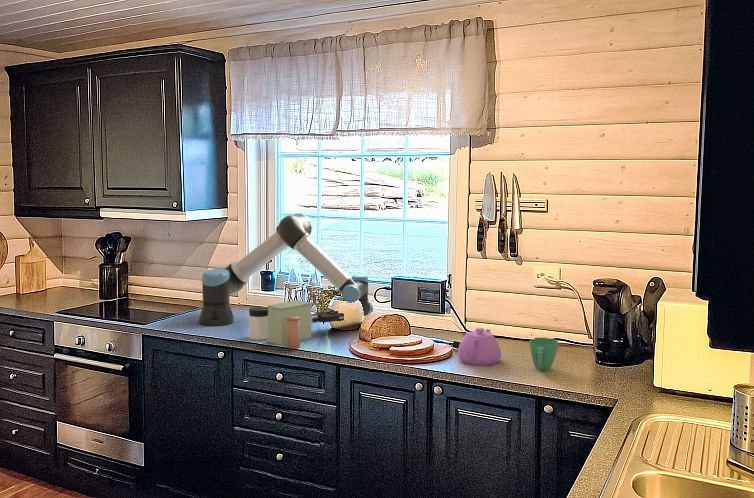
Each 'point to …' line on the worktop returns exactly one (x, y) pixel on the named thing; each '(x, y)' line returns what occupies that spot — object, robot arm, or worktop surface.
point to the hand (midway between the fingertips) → (305, 321)
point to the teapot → (479, 348)
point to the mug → (543, 352)
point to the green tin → (279, 320)
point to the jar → (258, 323)
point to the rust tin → (293, 332)
